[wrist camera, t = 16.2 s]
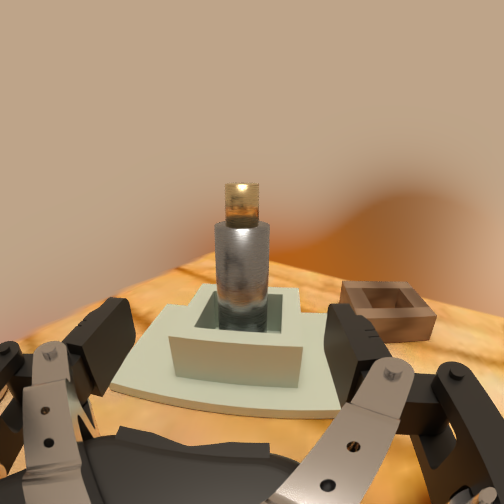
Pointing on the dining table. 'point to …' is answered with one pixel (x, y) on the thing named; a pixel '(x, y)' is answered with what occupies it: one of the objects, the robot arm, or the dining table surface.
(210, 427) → the dining table surface
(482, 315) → the dining table surface
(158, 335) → the board
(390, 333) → the socket block
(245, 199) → the stepped metal cylinder
